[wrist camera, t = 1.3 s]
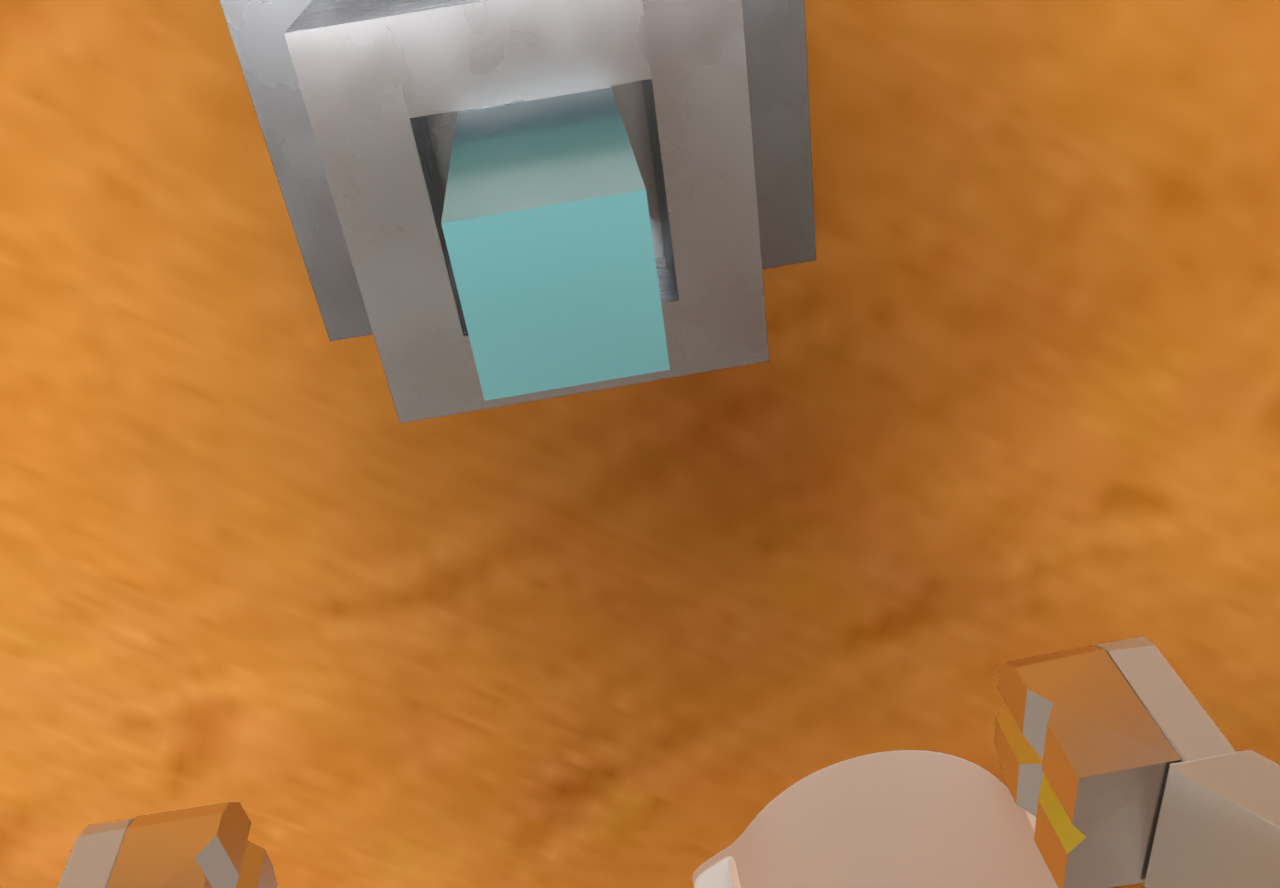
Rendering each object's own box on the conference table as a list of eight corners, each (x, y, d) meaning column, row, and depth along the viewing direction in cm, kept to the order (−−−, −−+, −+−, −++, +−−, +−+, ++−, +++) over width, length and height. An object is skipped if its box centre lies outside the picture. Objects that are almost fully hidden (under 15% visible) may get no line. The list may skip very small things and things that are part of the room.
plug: (632, 234, 30) (669, 369, 23) (489, 257, 30) (484, 400, 23) (611, 87, 28) (646, 190, 21) (457, 112, 27) (441, 223, 21)
